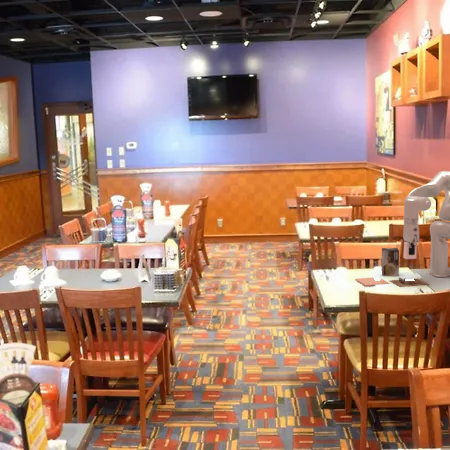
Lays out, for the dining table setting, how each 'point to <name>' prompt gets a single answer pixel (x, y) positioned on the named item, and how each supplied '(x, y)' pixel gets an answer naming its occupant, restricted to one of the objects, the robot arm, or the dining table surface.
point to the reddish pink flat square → (370, 281)
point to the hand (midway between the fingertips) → (410, 253)
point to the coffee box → (390, 262)
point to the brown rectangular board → (408, 282)
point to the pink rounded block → (406, 251)
